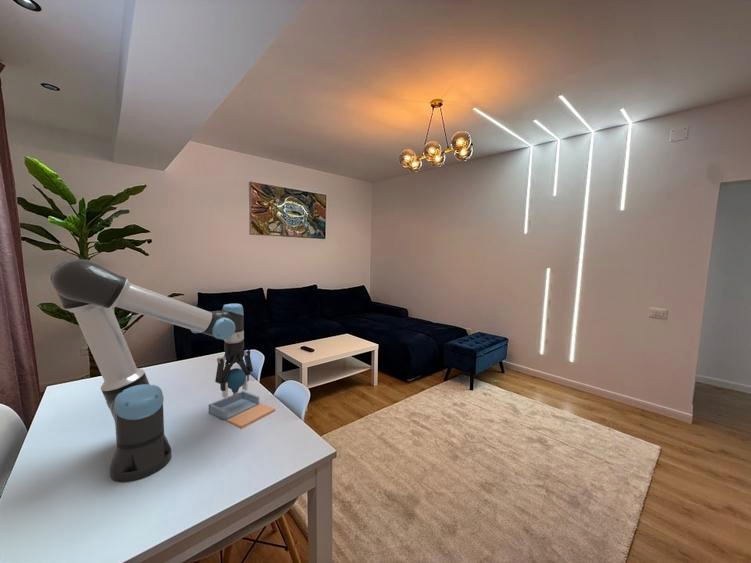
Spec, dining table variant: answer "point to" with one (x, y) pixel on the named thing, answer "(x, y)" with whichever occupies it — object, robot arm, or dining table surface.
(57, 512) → the dining table surface
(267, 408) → the panel
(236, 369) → the light bulb
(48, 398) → the dining table surface
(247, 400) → the blue-grey shallow rectangular box
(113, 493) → the dining table surface
